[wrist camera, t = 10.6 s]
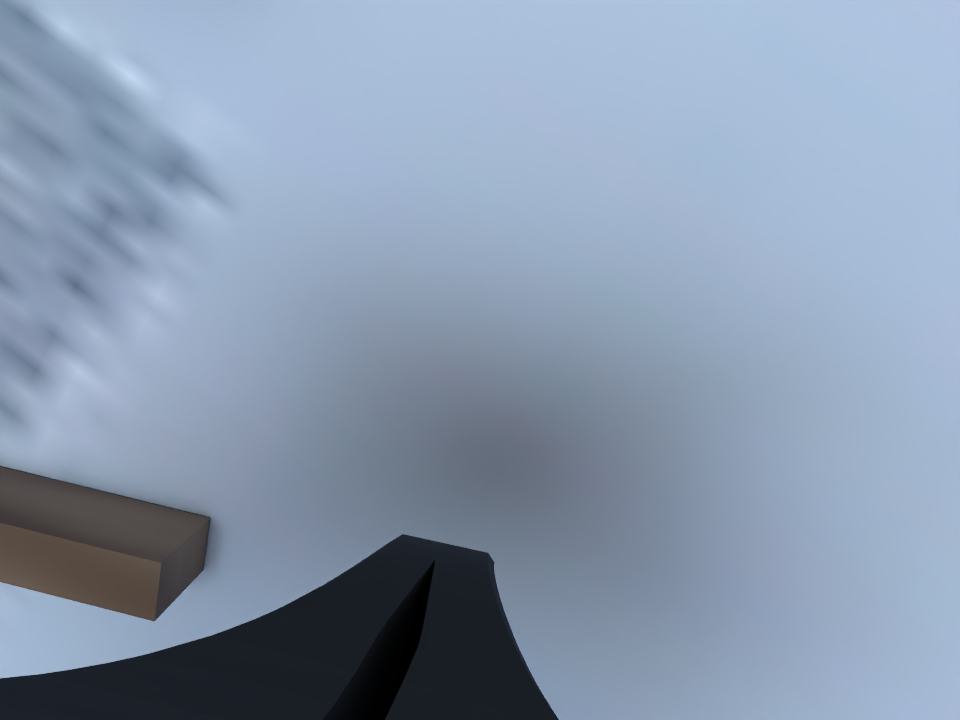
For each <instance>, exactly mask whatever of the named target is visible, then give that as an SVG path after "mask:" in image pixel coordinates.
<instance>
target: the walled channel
mask: <svg viewBox="0 0 960 720" xmlns="http://www.w3.org/2000/svg"><path fill="white" fill-rule="evenodd" d="M209 521H210V518H209V517H205V516H201V515H197V514H192V513H188V512H184V511H180V510H176V509H172V508H168V507H164V506H160V505H156V504H152V503H147V502H143V501H139V500H135V499H131V498H127V497H123V496H119V495H115V494H111V493H107V492H102V491H98V490H94V489H90V488H86V487H82V486H78V485H74V484H70V483H66V482H62V481H58V480H53V479H49V478H45V477H41V476H37V475H33V474H29V473H25V472H21V471H17V470H13V469H8V468H4V467H0V582H3V583H7V584H11V585H15V586H19V587H22V588H26V589H30V590H34V591H38V592H42V593H46V594H50V595H54V596H58V597H62V598H66V599H69V600H73V601H77V602H81V603H85V604H89V605H93V606H97V607H101V608H105V609H109V610H113V611H116V612H120V613H124V614H128V615H132V616H136V617H140V618H144V619H148V620H152V621H155V620H156V619H157V618H158V617H159V616H160V615H161V614H162V613H163V612H164V611H165V610H166V609H167V608H168V607H169V606H170V604H171V603H172V602H173V601H174V600H175V599H176V598H177V597H178V596H179V595H180V594H181V593H182V592H183V591H184V590H185V589H186V588H187V587H188V586H189V584H190V583H191V582H192V581H193V580H194V579H195V578H196V577H197V576H198V575H199V574H200V573H201V572H202V571H203V567H204V560H205V552H206V544H207V536H208V529H209Z"/></svg>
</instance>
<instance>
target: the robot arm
mask: <svg viewBox="0 0 960 720" xmlns="http://www.w3.org/2000/svg"><path fill="white" fill-rule="evenodd" d="M0 720H559V719H558V718H557V716H556V715H555V713H554V712H553V710H552V709H551V707H550V705H549V704H548V702H547V701H546V699H545V698H544V696H543V694H542V692H541V691H540V689H539V687H538V686H537V684H536V682H535V680H534V678H533V676H532V674H531V673H530V671H529V668H528V666H527V664H526V662H525V660H524V658H523V656H522V654H521V652H520V650H519V648H518V645H517V643H516V641H515V638H514V636H513V633H512V631H511V628H510V625H509V623H508V620H507V617H506V615H505V612H504V609H503V606H502V603H501V600H500V596H499V592H498V589H497V585H496V580H495V574H494V562H493V560H492V558H491V557H490V555H489V554H488V553H486V552H481V551H477V550H472V549H467V548H463V547H458V546H454V545H449V544H445V543H440V542H435V541H431V540H426V539H422V538H417V537H413V536H408V535H404V534H402V535H401V536H399V537H398V538H396V539H394V540H393V541H391V542H390V543H388V544H386V545H385V546H383V547H382V548H380V549H379V550H378V551H376V552H375V553H373V554H372V555H370V556H369V557H367V558H366V559H364V560H363V561H361V562H360V563H358V564H357V565H355V566H354V567H352V568H350V569H349V570H347V571H346V572H344V573H342V574H341V575H339V576H338V577H336V578H334V579H333V580H331V581H329V582H328V583H326V584H325V585H323V586H321V587H319V588H317V589H315V590H313V591H311V592H310V593H308V594H306V595H304V596H302V597H300V598H298V599H296V600H295V601H293V602H291V603H289V604H287V605H285V606H283V607H281V608H279V609H277V610H275V611H273V612H270V613H268V614H266V615H263V616H261V617H259V618H257V619H254V620H252V621H249V622H246V623H244V624H241V625H239V626H236V627H234V628H231V629H228V630H226V631H223V632H220V633H217V634H215V635H212V636H209V637H205V638H202V639H198V640H195V641H191V642H188V643H185V644H181V645H178V646H174V647H171V648H167V649H164V650H160V651H157V652H154V653H150V654H146V655H142V656H138V657H133V658H129V659H124V660H120V661H115V662H110V663H106V664H100V665H95V666H89V667H83V668H78V669H72V670H66V671H60V672H53V673H46V674H39V675H30V676H20V677H10V678H1V679H0Z"/></svg>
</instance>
